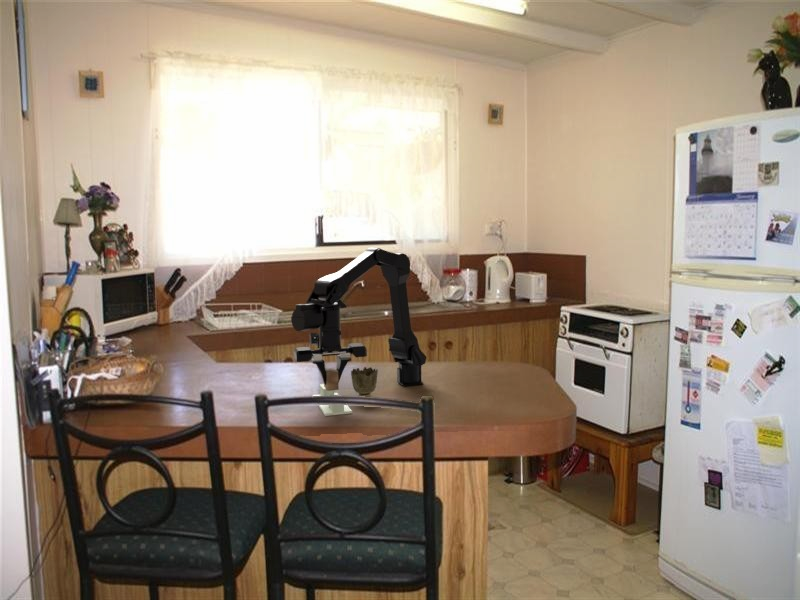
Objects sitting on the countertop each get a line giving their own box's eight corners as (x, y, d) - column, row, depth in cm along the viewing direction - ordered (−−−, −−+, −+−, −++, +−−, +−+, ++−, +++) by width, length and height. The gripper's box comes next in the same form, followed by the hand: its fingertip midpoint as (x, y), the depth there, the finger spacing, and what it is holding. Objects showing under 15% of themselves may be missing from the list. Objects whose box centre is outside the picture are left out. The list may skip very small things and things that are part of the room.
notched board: (337, 394, 179) (336, 382, 179) (352, 413, 162) (351, 399, 162) (312, 397, 177) (312, 384, 177) (325, 416, 160) (324, 402, 160)
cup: (354, 403, 171) (353, 374, 170) (349, 395, 178) (348, 368, 177) (381, 400, 173) (380, 372, 172) (374, 393, 180) (374, 366, 179)
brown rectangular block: (335, 385, 172) (334, 367, 171) (338, 389, 168) (338, 371, 167) (324, 386, 171) (323, 368, 170) (327, 390, 167) (326, 372, 166)
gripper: (356, 319, 178) (357, 373, 180) (289, 323, 172) (291, 379, 174) (366, 325, 167) (367, 383, 169) (296, 330, 161) (298, 390, 164)
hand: (331, 383), depth 169 cm, fingers closed on brown rectangular block, 3 cm apart
